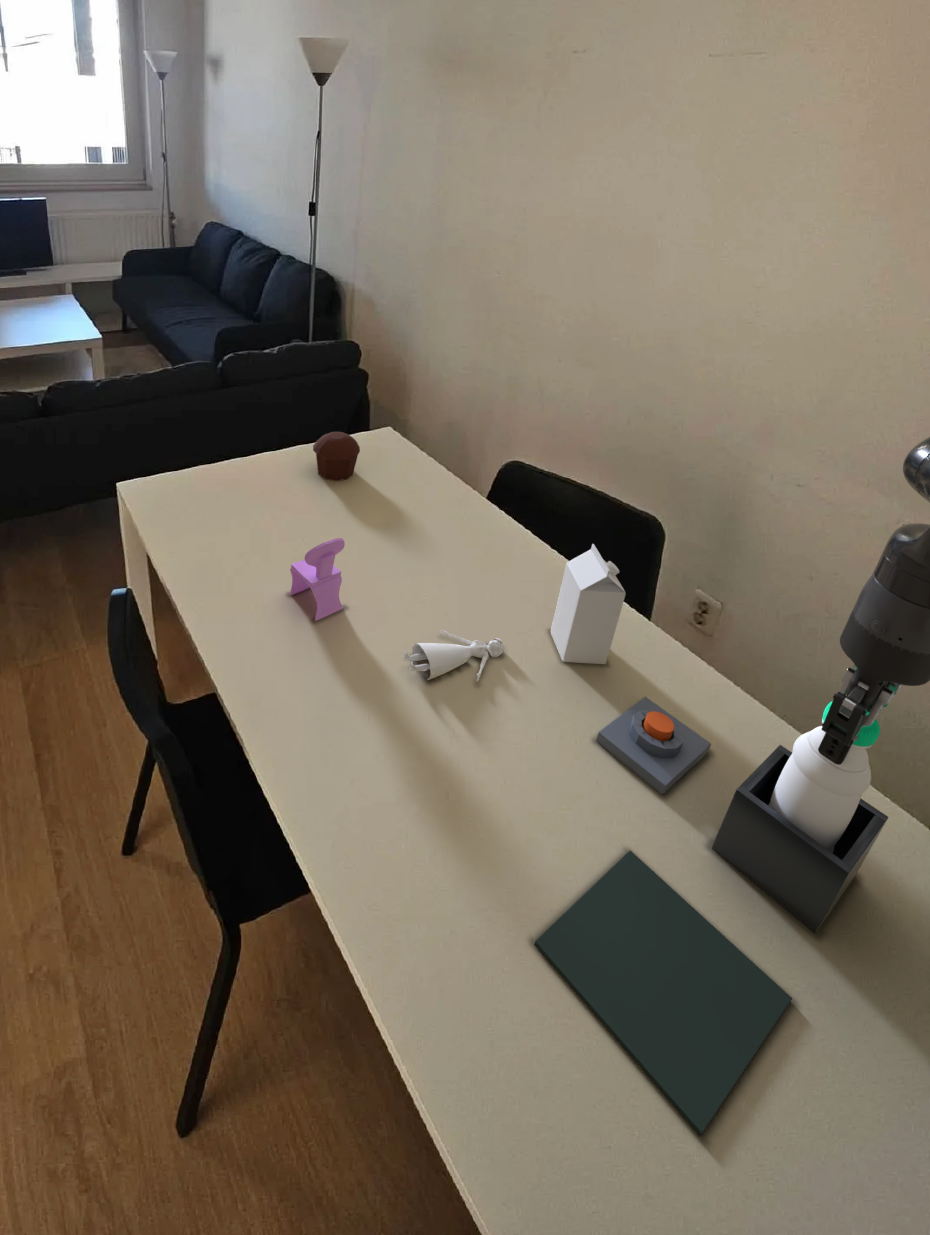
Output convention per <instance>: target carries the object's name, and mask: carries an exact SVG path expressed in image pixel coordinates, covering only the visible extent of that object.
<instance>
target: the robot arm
mask: <svg viewBox="0 0 930 1235" xmlns="http://www.w3.org/2000/svg"><path fill="white" fill-rule="evenodd" d="M902 472H903V476H904V478H905V481H906V482H907V483H908V484H909V486H910V487H911V489H913V491H915V492H916V493H917V494H918V495H920V496H921V498H923V499H925V501H927V502H928V504H930V436H928V437H926V438H924V439H923V440H921V441H920V442H918V443H917V444H916V445H915V446H913V447H912V448H911V449H909V451H908V452H907V455H906V456H905V458H904V460H903V464H902ZM839 645H840V648H841V650H842V651H843V653H844V654H845V655H846V657H848V659H850V661H851V662H852V663H853V666H852V667H851V666H848V667H847V668H846V670H845V672H844V674H843V675H842V677H841V686H840V687H839V689H838V691H837V692H836V693H834V694H833V695H832V700H831V702H832V704H831V706H830V709H829V711H828V714H827V716H826V719H825V721H824V722H823V724H822V723H821V726H822V729H821V730H822V731H824V732H826V733H825V735H824V737H823V740H822V742H821V744H820V746H819V748H818V751H819V753H820V754H821V755H823V756H824V757H826V758H827V759H829V760H830V761H832V762H834V763H835V764H838V765H840V764H842V763H843V761H844V760H845V758H846V756H847V754H848V752H849V750H850V748H851V746H852V744H853V742H854V741H857V740H858V738H859V737H858V735H859V733H860V731H861V730H862V728H863V726H870V725H871V724H872V723H873V722H874V720H875V719H876V720H877V717H878V716H879V714H881V713H882V711H883V709H882V708H887V707H888V705H889V704H890V703H891V702H892V700H893V699H894V697H895V695H897V693H898V691H899V690H900V689H901V687H902V686H906V687H918V686H922V685H925V684H927V683H929V682H930V524H927V523H923V522H922V523H921V522H911V523H906V524H903V525H900V526H899V527H897V528H896V529H894V531H893V532H892V534H891V535H890V537H889V538H888V540H887V542H886V544H885V546H884V548H883V551H882V553H881V555H880V557H879V560H878V561H877V563H876V566H875V568H874V570H873V572H872V574H871V575H870V577H869V578H868V579H867V581H866V582H865V584H864V585H863V587H862V589H861V591H860V592H859V595H858V597H857V599H856V602H855V604H854V606H853V608H852V610H851V613H850V614H849V617H848V619H847V621H846V624H845V625H844V628H843V630H842V632H841V634H840V637H839ZM866 711H868V712H869V715H866V713H867V712H866Z"/></svg>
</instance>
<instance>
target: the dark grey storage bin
mask: <svg viewBox="0 0 930 1235" xmlns="http://www.w3.org/2000/svg"><path fill="white" fill-rule="evenodd" d="M792 753H793V751H791V750H789V749H787V748H786V747H785V746H783V745H781V744H779V745H778V746H777V747H776V748H775V749H774V750H773V751H772V752H771V753H770V754H769V755H768V756H767V757H766V759H764V760H763V761H762V762H761V763H760V764H759V766H758V767H756V768H755V770H754V771H753V772H752V773H751V774H750V775H748V777H747V778H746V779H745V780H743V782H742V783H741V784H740V785H739V786H738V787H737V788H736V790H735V791H734V794H733V797H732V799H731V801H730V804H729V806H728V808H727V810H726V813H725V815H724V818H723V820H722V822H721V825H720V827H719V828H718V831H717V834H716V836H715V838H714V841H713V843H712V846H711V849H712V850H713V851H714V852H715V853H717V854H718V855H719V856H720V857H721V858H722V859H723V860H725V862H727V863H729V864H730V865H731V866H732V867H733V868H735V869H736V870H737V871H738V872H739V873H741V874H742V875H743V876H744V877H745V878H746V879H748V880H749V881H750V882H751V883H753V884H754V885H755V886H756V887H757V888H759V889H760V890H761V891H762V892H763V893H765V894H766V895H767V896H768V897H770V898H771V899H772V900H773V901H774V902H776V903H777V904H778V905H779V906H780V907H781V908H783V909H784V910H785V911H787V913H789V914H790V915H791V916H793V918H795V919H796V920H797V921H799V923H801V924H802V925H803V926H805V928H807V929H808V930H809V931H810V932H812V933H813V934H816V933H817V932H818V931H819V929H820V927H821V926H822V925H823V923H824V922H825V920H826V919H827V917H828V916H829V914H830V913H832V910H833V909H834V907H835V906H836V905H837V903H838V902H839V900H840V899H841V897H842V896H843V895H844V893H845V891H846V890H847V889H848V887H849V886H850V884H851V883H852V881H854V879H855V877H856V875H857V874H858V872H859V870H860V868H861V867H862V865H863V863H864V862H865V859H866V858H867V856H868V854H869V852H870V851H871V849H872V848H873V845H874V844H875V842H876V840H877V838H878V837H879V835H880V834H881V833H882V832H881V831H882V830H883V828H884V826H885V825H886V822H887V821H888V819H889V816H888V815H887V814H885V813H883V812H882V811H880V810H879V809H877V808H876V807H875V806H873V805H872V804H870V803H869V802H867V801H865V800H864V799H862V798H861V799H860V801H859V804H858V806H857V808H856V811H855V813H854V815H853V817H852V819H851V821H850V822H849V824H848V826H847V828H846V829H845V831H844V833H843V834H842V836H841V837H840V839H839V840H838V842H837V843H836V844H835V846H834V851H833V853H831V852H830V851H829V850H827V849H826V848H825V847H823V846H822V845H821V844H819V843H818V842H817V841H815V840H814V839H812V838H811V837H810V836H808V835H807V834H806V833H804V832H803V831H802V830H800V829H799V828H798V827H796V826H795V825H794V824H792V823H791V822H789V821H788V820H787V819H785V818H784V817H783V816H781V815H780V814H779V813H777V812H776V811H775V810H773V809H772V808H771V807H769V806H768V805H769V804H770V800H771V797H772V794H773V791H774V788H775V786H776V783H777V781H778V779H779V777H780V775H781V772H782V770H783V768H784V766H785V764H786V763H787V761H788V759H789V758H790V756H791V754H792Z"/></svg>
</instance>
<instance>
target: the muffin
mask: <svg viewBox="0 0 930 1235" xmlns="http://www.w3.org/2000/svg"><path fill="white" fill-rule="evenodd" d="M312 451H313V452H314V453H315V456H316V465H317V466H316V467H317V474H318V475H319V476H321V477H323V478H324V479H325V480H331V481H335V482H338V481H344V480H348V479H349V478H350V477H352V476H353V475H354V471H355V469H356V463H357V460H358V457H359V455H360V452H361V448H360V445H359V443H358V441H357V440H356V439H355V438H354V437H353V436H352V435H350V434H349V433H345V432H343V431H331V432H329V433H325V434H323V435H322V436H320V437H319V438H318V439H317V440H316V441H315V442H314V444H313V446H312Z"/></svg>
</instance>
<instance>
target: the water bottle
mask: <svg viewBox="0 0 930 1235" xmlns="http://www.w3.org/2000/svg"><path fill="white" fill-rule="evenodd" d="M831 704H832V701H830V702H829V703H828V704H827V705H826V706H825V709H824V710H823V714H822V719H821V725H819V726H816V727H814V728H813V729H812V730H809V731H807V732H805V733H803V734H801V735H800V736H798V737H797V739H796V740H795V741H794V743H793V746H792V754H791V756H790V758H789V759H788V761H787V763H786V764H785V766H784V768H783V770H782V772H781V775H780V777H779V779H778V781H777V783H776V786H775V788H774V791H773V794H772V797H771V800H770V804H769V805H768V806H769V807H771V808H772V809H773V810H775V811H776V812H777V813H779V814H780V815H781V816H783V817H784V818H785V819H787V820H788V821H789V822H791V823H792V824H794V825H795V826H796V827H798V828H799V829H800V830H802V831H803V832H804V833H806V834H807V835H808V836H810V837H811V838H812V839H814V840H815V841H817V842H818V843H819V844H821V845H822V846H823V847H825V848H826V849H827V850H829V851H830V852H831V853H833V851H834V846H835V844H836V843H837V842H838V840H839V839H840V837H841V836H842V834H843V833H844V831H845V829H846V828H847V826H848V824H849V822H850V821H851V819H852V817H853V815H854V813H855V811H856V808H857V806H858V804H859V801H860V799H862V795H863V794H864V793H865V792H866V791H867V790H868V789H869V787H870V785H871V782H872V772H871V767H870V763H869V755H868V752H867V749H870V748H871V747H872V746H873V745H874V744H876V741H877V740H878V739H879V737H880V733H881V726H880V723H879V721H878V720H877V718H876V719H875V720H874V722H873V723H872V724H871V725H870V726H863V728H862V730H861V731H860V733H859V735H858V737H859V738H858V740H857V741H854V742H853V744H852V746H851V748H850V750H849V752H848V754H847V756H846V758H845V760H844V761H843V763H842V764H840V765H838V764H835V763H834V762H832V761H830V760H829V759H827V758H826V757H824V756H823V755H821V754H820V753H819V751H818V748H819V746H820V744H821V742H822V740H823V737H824V735H825V733H826V732H824V731H822V730H821V729H822V724H823V722H824V721H825V719H826V716H827V714H828V711H829V709H830V706H831ZM866 712H867V713H866V715H869V712H868V711H866Z"/></svg>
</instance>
